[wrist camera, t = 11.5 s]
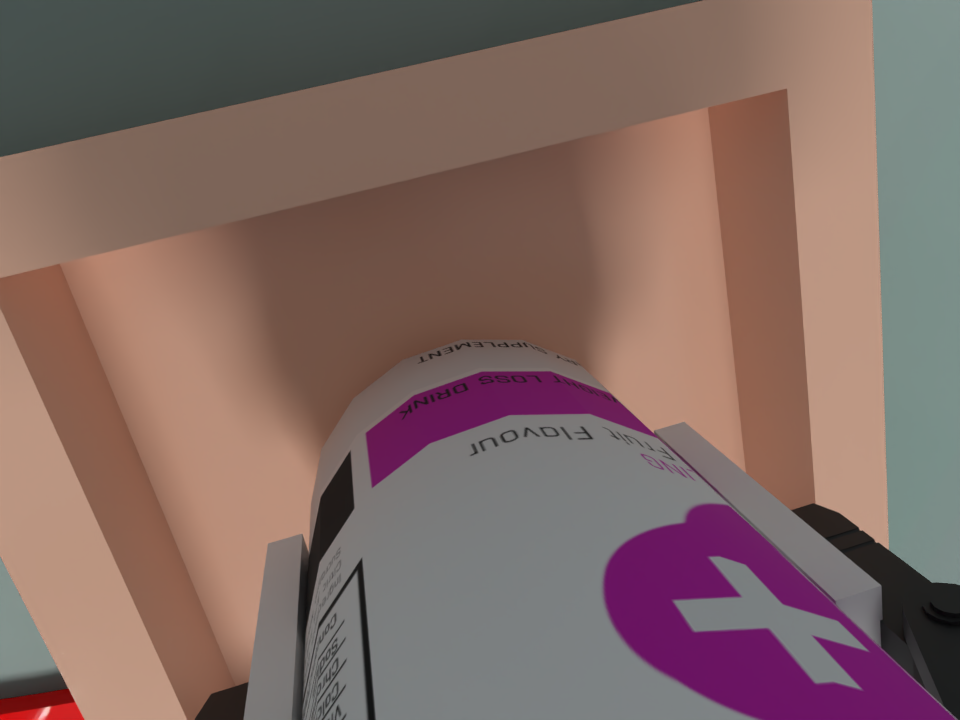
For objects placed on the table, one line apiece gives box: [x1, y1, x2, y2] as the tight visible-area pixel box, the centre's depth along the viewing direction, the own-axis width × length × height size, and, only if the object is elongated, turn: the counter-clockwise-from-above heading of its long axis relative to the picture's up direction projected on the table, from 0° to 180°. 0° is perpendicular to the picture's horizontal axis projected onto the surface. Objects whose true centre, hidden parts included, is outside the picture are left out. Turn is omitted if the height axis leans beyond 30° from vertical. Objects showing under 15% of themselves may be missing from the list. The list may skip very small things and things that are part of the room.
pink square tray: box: [0, 0, 889, 720], centre depth 19 cm, size 20×20×4 cm
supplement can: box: [302, 340, 958, 720], centre depth 12 cm, size 8×8×15 cm
